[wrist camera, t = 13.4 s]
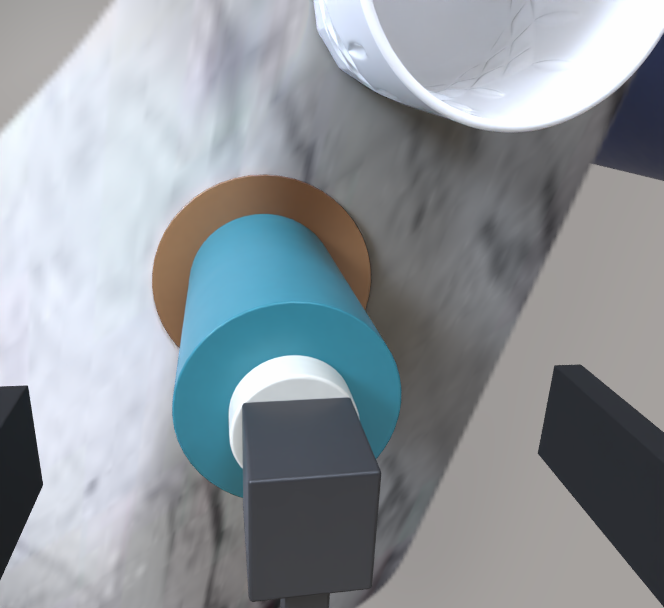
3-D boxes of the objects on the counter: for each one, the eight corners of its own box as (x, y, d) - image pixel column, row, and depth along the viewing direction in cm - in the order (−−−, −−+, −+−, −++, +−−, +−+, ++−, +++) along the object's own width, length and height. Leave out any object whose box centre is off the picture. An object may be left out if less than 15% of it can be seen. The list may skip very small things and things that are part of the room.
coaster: (376, 175, 24) (377, 176, 24) (363, 375, 27) (364, 377, 27) (145, 172, 23) (144, 173, 22) (159, 384, 26) (158, 387, 26)
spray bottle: (185, 213, 23) (145, 391, 10) (337, 213, 24) (477, 375, 11) (193, 370, 26) (167, 678, 13) (331, 364, 27) (440, 643, 14)
